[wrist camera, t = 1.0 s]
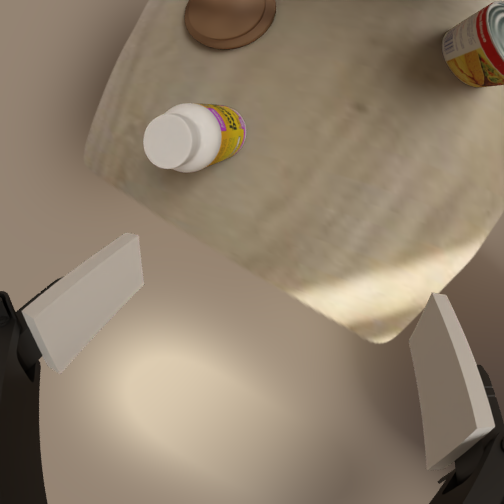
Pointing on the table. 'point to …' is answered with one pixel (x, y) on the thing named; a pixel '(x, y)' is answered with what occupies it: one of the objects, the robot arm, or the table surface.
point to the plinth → (228, 21)
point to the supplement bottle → (194, 136)
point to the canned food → (477, 47)
